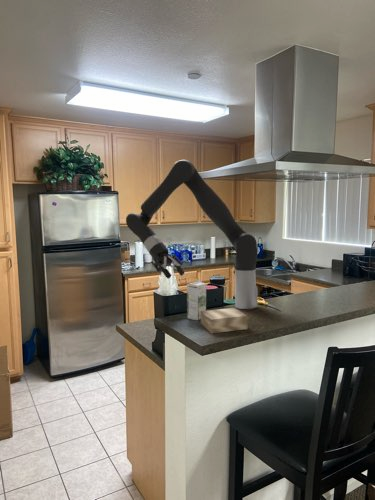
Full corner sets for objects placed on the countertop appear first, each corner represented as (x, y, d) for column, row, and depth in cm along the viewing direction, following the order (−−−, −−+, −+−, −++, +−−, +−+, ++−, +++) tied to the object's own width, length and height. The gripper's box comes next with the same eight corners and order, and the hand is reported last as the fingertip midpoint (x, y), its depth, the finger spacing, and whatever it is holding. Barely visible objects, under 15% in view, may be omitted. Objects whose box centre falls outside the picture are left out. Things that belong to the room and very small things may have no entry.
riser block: (234, 320, 144) (234, 307, 144) (247, 328, 133) (247, 315, 132) (200, 323, 140) (200, 311, 140) (211, 333, 129) (211, 319, 128)
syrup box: (195, 315, 152) (194, 281, 151) (206, 317, 148) (206, 282, 147) (186, 318, 148) (186, 283, 146) (198, 321, 144) (197, 285, 143)
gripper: (148, 243, 152) (169, 272, 146) (171, 240, 163) (191, 267, 157) (140, 255, 155) (160, 284, 149) (162, 252, 166) (182, 278, 160)
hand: (176, 275), depth 153 cm, fingers open, 8 cm apart
